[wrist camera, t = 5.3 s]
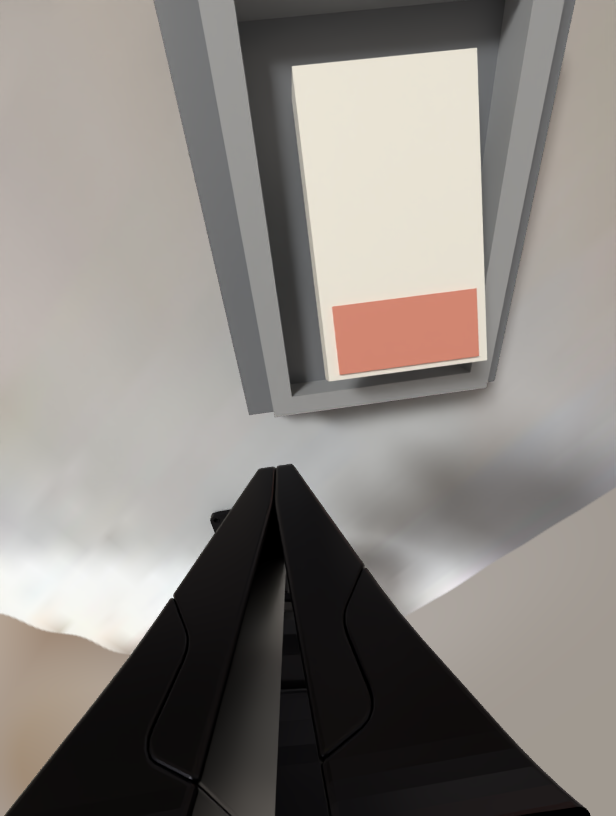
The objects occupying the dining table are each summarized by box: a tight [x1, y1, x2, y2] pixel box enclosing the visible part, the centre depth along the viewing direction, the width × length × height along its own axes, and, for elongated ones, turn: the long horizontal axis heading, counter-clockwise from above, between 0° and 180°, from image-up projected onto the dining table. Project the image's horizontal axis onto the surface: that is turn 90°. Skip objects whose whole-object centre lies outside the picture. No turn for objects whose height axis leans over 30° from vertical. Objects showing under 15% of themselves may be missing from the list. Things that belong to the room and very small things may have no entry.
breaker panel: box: [154, 0, 575, 417], centre depth 14 cm, size 16×14×4 cm
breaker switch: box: [292, 48, 487, 381], centre depth 11 cm, size 10×6×1 cm, turn 7°
